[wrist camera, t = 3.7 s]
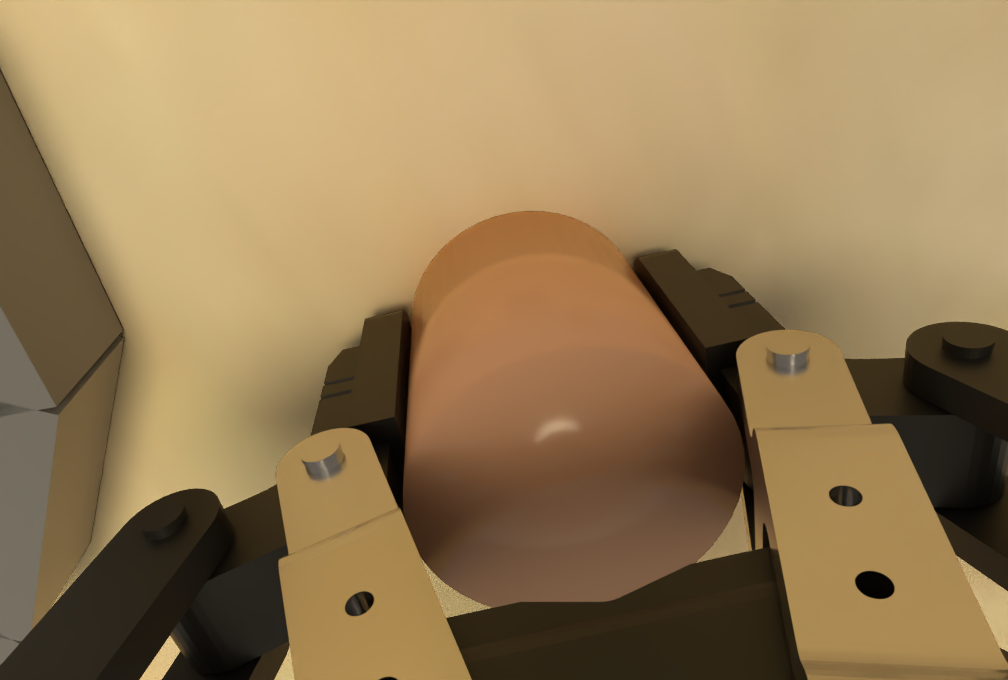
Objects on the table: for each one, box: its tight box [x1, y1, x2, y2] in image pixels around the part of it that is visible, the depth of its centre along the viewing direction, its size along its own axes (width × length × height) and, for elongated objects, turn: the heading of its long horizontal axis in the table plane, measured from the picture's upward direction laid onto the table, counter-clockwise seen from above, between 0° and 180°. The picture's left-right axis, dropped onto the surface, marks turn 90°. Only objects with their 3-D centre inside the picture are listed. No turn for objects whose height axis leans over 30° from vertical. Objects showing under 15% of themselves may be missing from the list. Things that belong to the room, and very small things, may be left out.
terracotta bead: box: [403, 211, 745, 608], centre depth 11 cm, size 4×4×5 cm
